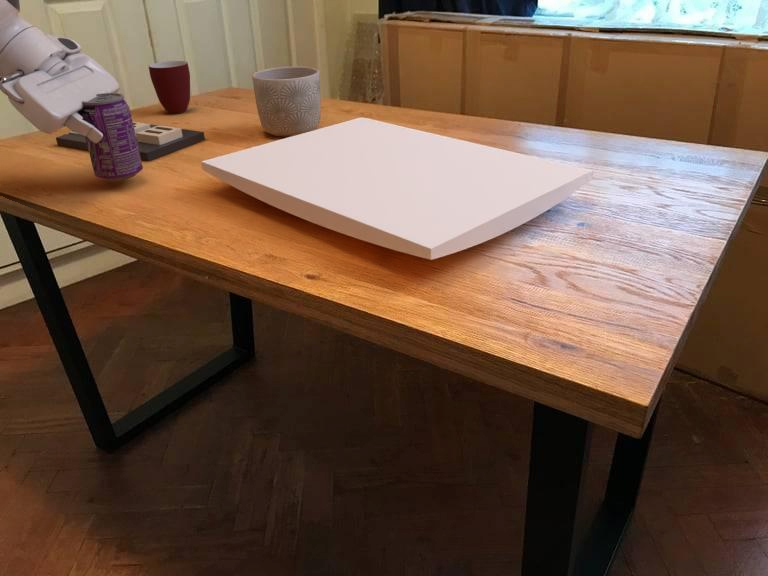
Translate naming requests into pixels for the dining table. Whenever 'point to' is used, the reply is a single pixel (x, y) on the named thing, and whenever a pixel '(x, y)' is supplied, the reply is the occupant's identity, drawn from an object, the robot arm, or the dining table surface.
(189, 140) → the letter board
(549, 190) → the board
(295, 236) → the dining table surface
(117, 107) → the beverage can
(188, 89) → the mug
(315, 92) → the planter
